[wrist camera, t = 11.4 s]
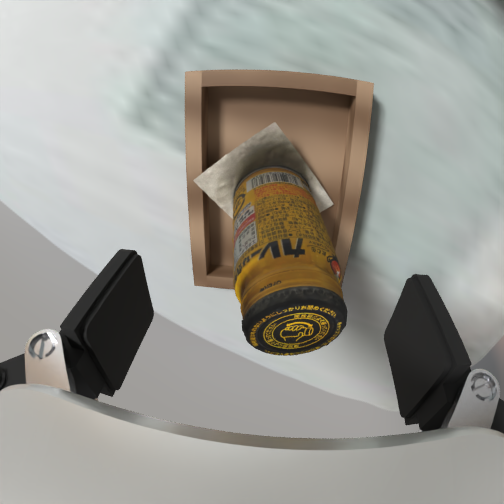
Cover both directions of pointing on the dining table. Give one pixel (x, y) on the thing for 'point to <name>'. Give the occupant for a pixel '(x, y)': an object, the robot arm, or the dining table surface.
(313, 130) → the serving tray
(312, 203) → the condiment
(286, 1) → the dining table surface
